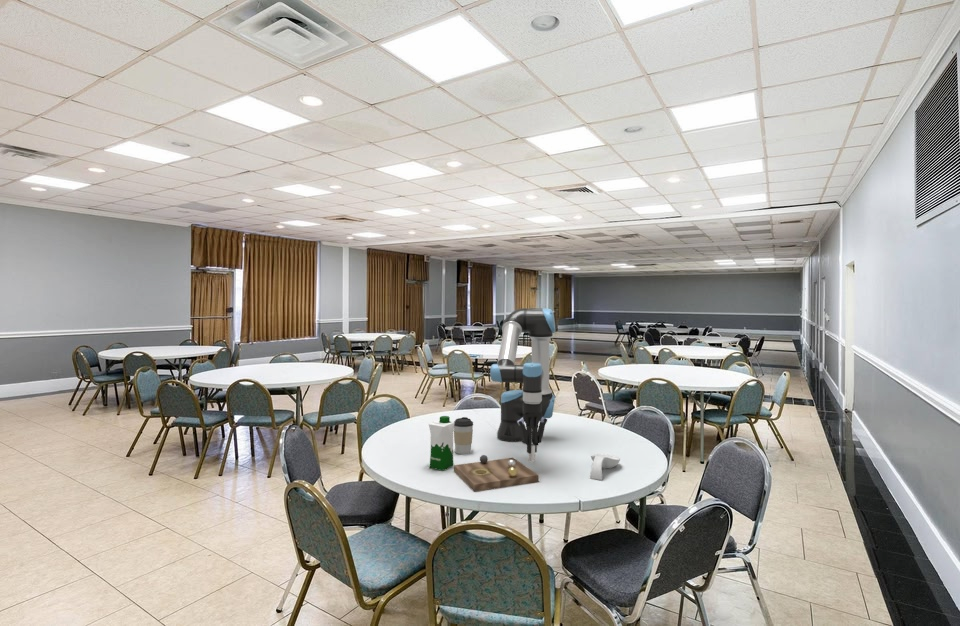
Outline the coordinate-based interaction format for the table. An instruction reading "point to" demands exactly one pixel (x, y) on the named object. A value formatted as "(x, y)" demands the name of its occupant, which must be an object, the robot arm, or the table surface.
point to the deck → (494, 474)
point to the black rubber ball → (483, 459)
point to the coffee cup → (463, 435)
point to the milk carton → (441, 443)
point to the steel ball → (511, 463)
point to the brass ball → (512, 471)
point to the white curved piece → (602, 464)
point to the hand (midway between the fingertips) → (531, 460)
